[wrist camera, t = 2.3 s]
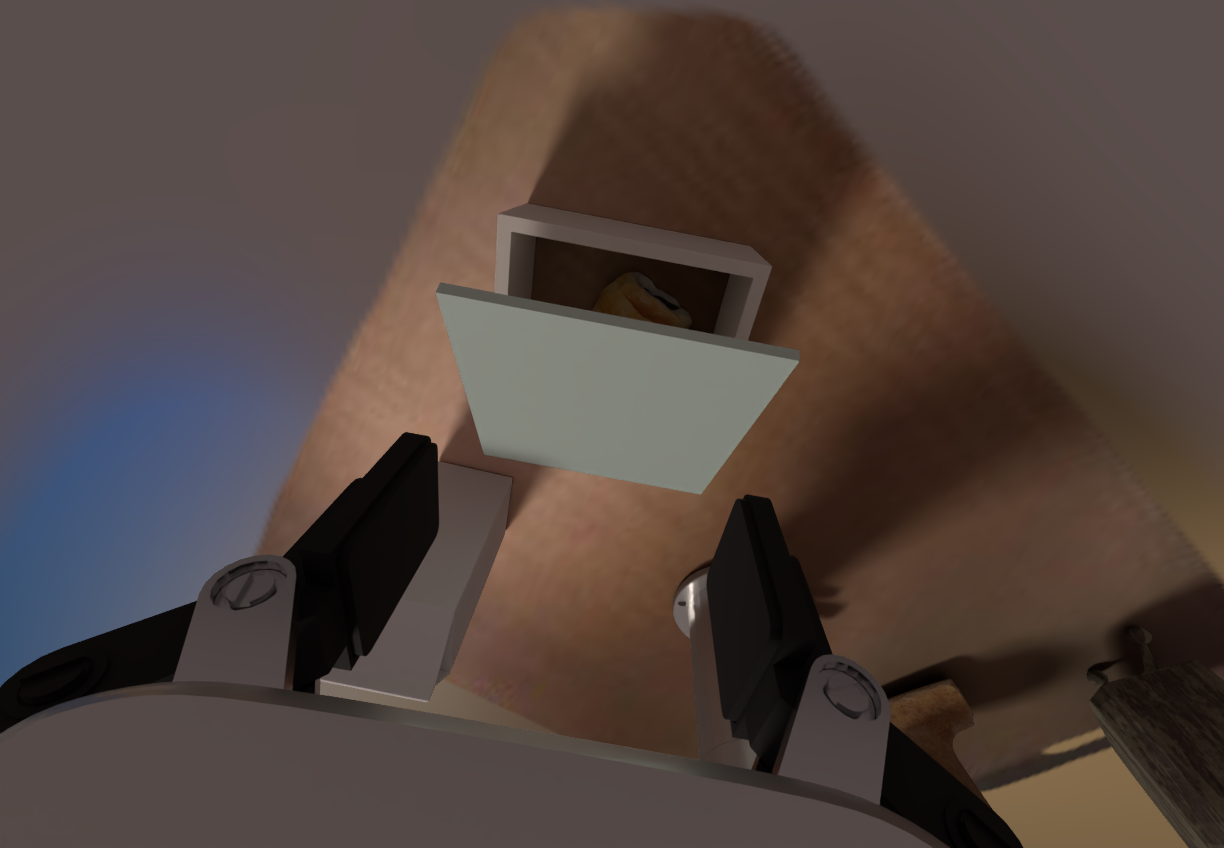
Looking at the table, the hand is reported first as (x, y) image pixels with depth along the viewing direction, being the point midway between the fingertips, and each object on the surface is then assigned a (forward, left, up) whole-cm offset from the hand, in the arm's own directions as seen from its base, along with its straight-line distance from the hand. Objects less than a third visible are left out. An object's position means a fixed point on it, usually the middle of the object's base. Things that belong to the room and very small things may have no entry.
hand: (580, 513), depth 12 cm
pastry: (-1, +4, -26) cm, 27 cm away
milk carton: (+11, +23, -26) cm, 36 cm away
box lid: (0, +5, -15) cm, 16 cm away
